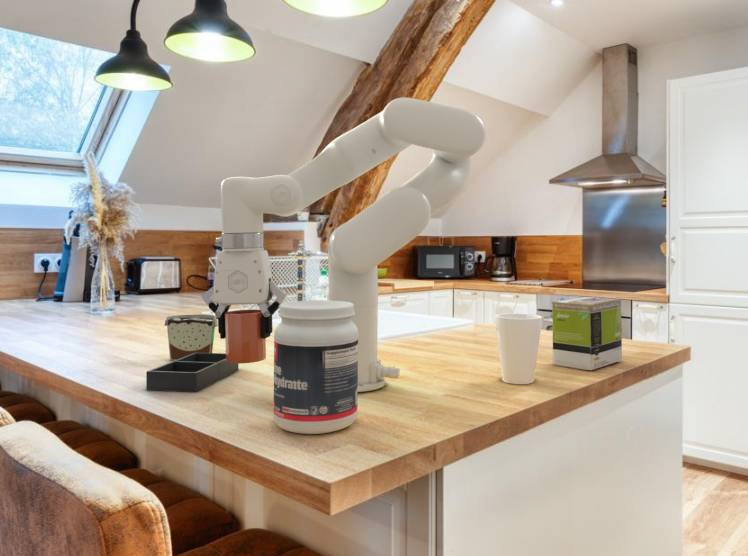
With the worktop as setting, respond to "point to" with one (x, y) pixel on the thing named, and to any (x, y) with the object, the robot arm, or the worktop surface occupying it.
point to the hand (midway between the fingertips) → (245, 336)
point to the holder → (190, 372)
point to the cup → (244, 336)
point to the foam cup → (518, 346)
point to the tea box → (587, 332)
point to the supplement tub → (315, 367)
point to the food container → (190, 334)
